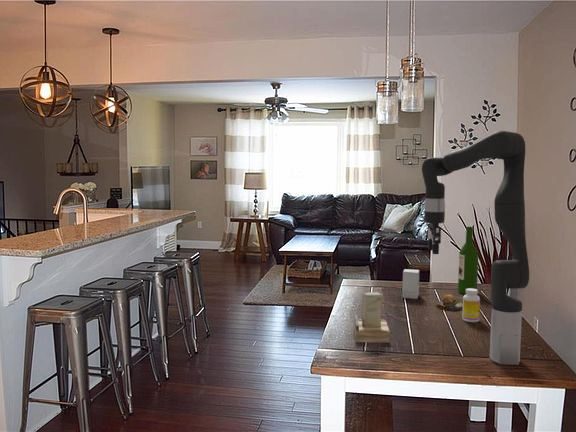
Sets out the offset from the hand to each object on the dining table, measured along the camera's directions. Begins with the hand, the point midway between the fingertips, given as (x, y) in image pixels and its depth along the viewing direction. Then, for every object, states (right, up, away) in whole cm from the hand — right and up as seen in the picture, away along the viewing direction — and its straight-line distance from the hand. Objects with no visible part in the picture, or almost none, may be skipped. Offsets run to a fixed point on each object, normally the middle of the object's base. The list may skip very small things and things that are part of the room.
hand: (433, 252), depth 210 cm
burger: (+16, -27, +34) cm, 46 cm away
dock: (-25, -31, -6) cm, 40 cm away
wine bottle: (+32, -24, +60) cm, 72 cm away
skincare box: (-25, -27, -6) cm, 37 cm away
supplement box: (+3, -25, +52) cm, 58 cm away
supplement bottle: (+19, -29, +14) cm, 37 cm away
